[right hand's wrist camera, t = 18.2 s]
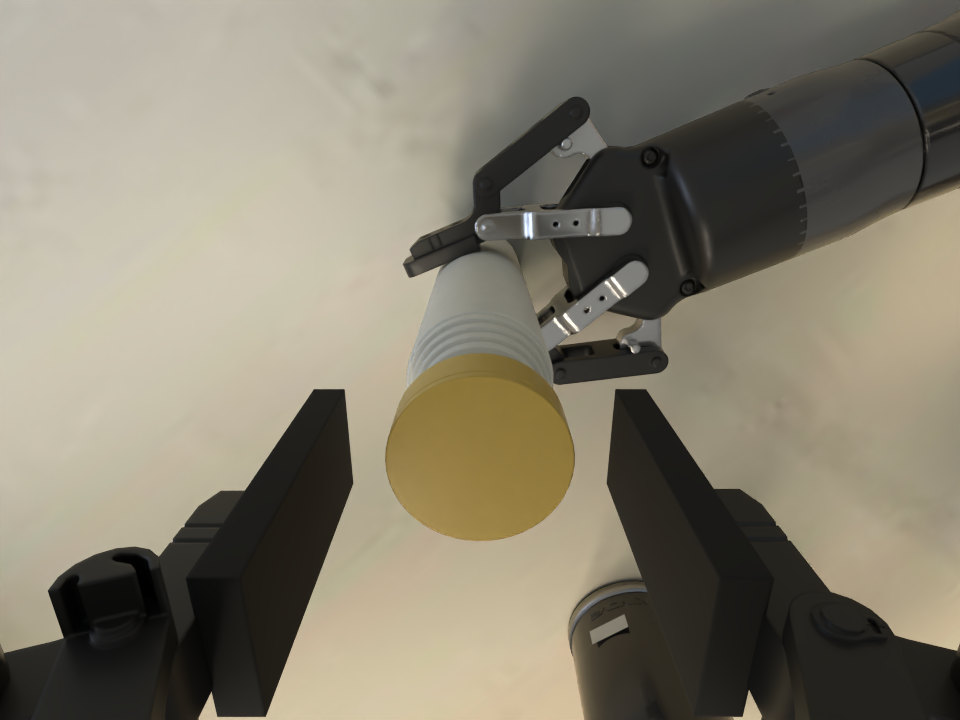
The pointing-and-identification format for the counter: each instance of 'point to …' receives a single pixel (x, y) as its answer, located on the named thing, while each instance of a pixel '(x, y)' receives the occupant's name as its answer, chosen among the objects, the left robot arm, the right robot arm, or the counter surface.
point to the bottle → (481, 313)
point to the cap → (480, 448)
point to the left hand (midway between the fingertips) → (431, 316)
